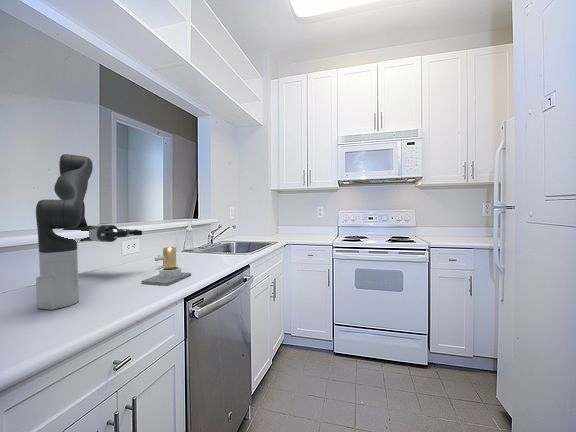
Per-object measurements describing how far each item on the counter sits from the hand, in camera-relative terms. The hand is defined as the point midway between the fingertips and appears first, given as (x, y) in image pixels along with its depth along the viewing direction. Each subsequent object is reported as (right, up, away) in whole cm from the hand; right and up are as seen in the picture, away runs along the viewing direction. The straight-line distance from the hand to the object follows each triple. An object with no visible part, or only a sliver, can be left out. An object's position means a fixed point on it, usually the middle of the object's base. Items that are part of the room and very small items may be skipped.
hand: (133, 233), depth 116 cm
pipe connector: (+4, -19, +20) cm, 28 cm away
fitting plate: (+15, -19, -2) cm, 25 cm away
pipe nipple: (+16, -18, 0) cm, 24 cm away
